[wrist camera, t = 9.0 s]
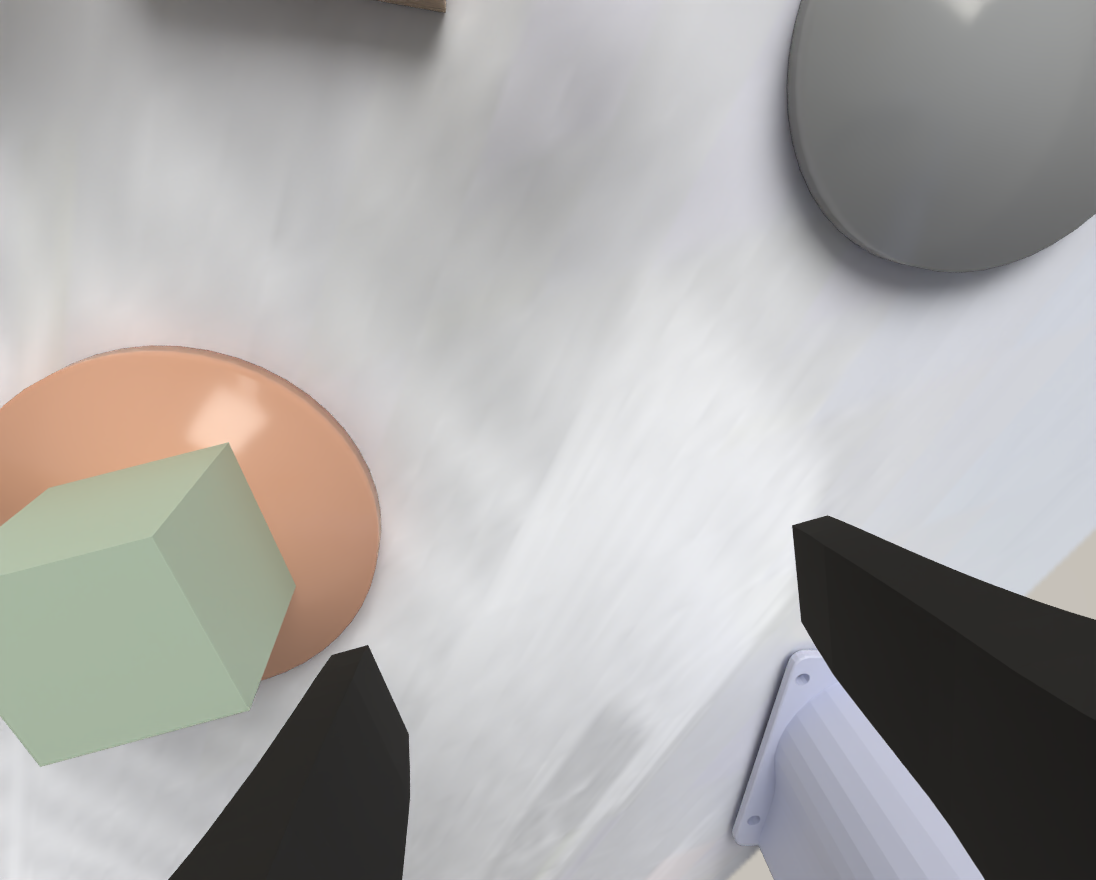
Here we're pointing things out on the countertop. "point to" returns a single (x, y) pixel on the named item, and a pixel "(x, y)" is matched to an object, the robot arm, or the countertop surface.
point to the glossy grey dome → (947, 124)
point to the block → (136, 604)
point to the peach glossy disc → (200, 422)
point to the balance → (421, 4)
